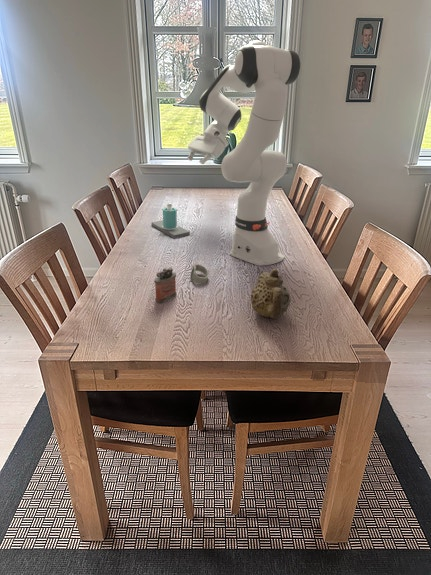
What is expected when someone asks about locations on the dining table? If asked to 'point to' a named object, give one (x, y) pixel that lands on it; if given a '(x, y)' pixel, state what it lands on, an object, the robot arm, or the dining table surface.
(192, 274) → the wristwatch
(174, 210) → the collar
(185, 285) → the dining table surface
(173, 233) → the post stand
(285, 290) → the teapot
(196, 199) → the dining table surface
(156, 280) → the lighter
